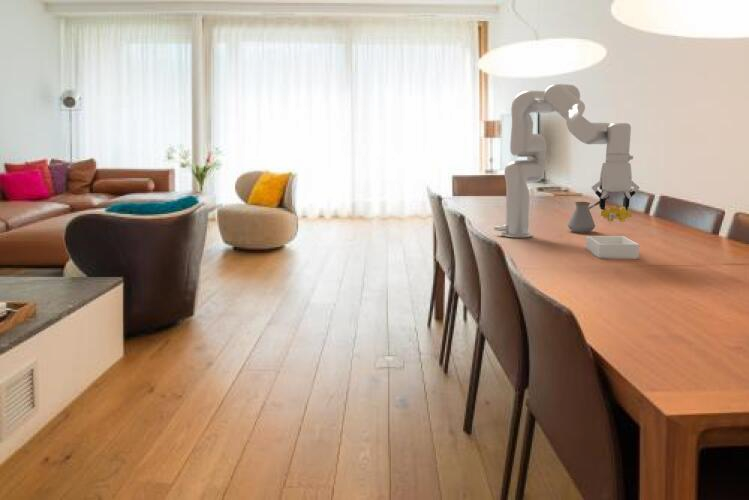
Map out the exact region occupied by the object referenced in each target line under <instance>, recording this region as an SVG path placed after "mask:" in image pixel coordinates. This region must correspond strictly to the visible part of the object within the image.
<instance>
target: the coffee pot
mask: <svg viewBox="0 0 749 500" xmlns="http://www.w3.org/2000/svg"><path fill="white" fill-rule="evenodd" d="M609 198H610V199H609ZM605 199H606V201H607V200H609V201H612V197H611V196H610V195H608V196H605ZM599 202H600V200H598V201H597V202H595V203H594V204H592V205H591V202H587V201H576V202H574V204H575V206H576V207H575V208H574V211H573V213H572V215H571V216H570V219H569V221H568V223H567V226H568V229H569V230H571V232H572V233H575V234H576V233H578V234H587V233H588V234H589V233H591V231H594V229H595V228H596V224H595V221H594V219H593V216H592V213H591V209H592V208H594V207H596V206H598V205H599Z"/></svg>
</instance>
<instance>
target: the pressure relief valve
mask: <svg viewBox="0 0 749 500" xmlns="http://www.w3.org/2000/svg"><path fill="white" fill-rule="evenodd" d="M632 214H633V213H632V212H631V211H628V210H626V207H623V206H621V207H619V209H618V207H617V206H616V205H612V206H611V208H606V207H605V210H601V211H600V216H601V217H603V219H605V220H607V222H608V224H609V225H610V226H611V222H614V220H615V219H616V220H619V223H624V222H625V221H626V219H628V218H632Z"/></svg>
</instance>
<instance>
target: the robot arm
mask: <svg viewBox="0 0 749 500" xmlns="http://www.w3.org/2000/svg"><path fill="white" fill-rule="evenodd" d="M585 109H586V105H585V103H584V102H583V101H582V100H581V93H580V90H579V88H578V87H577V86H575V85H574V84H569V83H568V84H566V83H554V84H551V85H549V86H548V87H547V88H546V89H545V90H524V91H522V92H521V91H520V93H518V94H516V96H515V97H514V99H513V101H512V103H511V110H510V111H511V132H510V142H509V143H510V144H509V145H510V146H509V147H510V149H509V150H510V153H511V155H512V156H514V157H517V158H526V159H518V160H513V161H510V162H509V163H508V164H506V166H505V168H504V180H505V187H506V196H505V197H506V198H505V199H506V201H505V223H504V224H503V225H500V226H499V225H494V226H493V231H494V232H495V231H496V232H497V231H498V232H501V236H503V237H507V238H514V239H515V238H519V239H520V238H523V239H524V238H531V237H532V235H533V234H532V232H531V231H529V219H530V218H529V216H530V198H531V197H530V195H531V194H530V190H529V187H528V185H527V184H529V183H530V184H532V183H537V182H540V181H541V180H542V179H543V177H544V176H545V170H546V159H547V147H548V146H547V141H546V139H545V137H544V136H543V135H541V134H539V133H533V132H534V131H533V129H534V122H533V121H534V120H533V118H532V115H531V113H532V114H533V113H534V114H535V113H536V114H537V113H538V114H539V113H540V114H541V113H543V114H547V113H548V114H549V113H550V114H551V113H554V112H557V114H559V115H560V116H561V117H562V118H563V119H564V120H565V121H566V126H567V129H568V132H570V134H571V135H573V137H574V138H575V139H577V140H579V141H580V142H581V143H583V144H585V145H606V151H605V153H606V154H605V162H603V163H602V166H601V169H600V175H599V180H598V181H597V182H596V183H595V184H594V185H592V186H591V190H592V191H593V192H594V194H595V195H596V196H597V197H598V198H599V201H600V202H599V204H598V205H599V208H600V210H601V211H604V210H605V209H606V201H607V200H606V199H605V198H606V196H607V194H608V192H611V193H613V192H617V193H618V192H622V193H623V195H624V197H623V200H622V201H623V202H622V207H626V211H628V210H629V209H628V208H630V199H631V198H632V197H633V196H634V195H635V194H637V192H638V191H639V190H640V186H639V185H637V184H636V182H634V181H633V180H632V179H633V178H632V177H633V175H632V166H631V162H630V161H631V160H632V161H633V160H634V156H633V155H631V154H630V149H631V148H630V146H631V136H632V135H631V130H632V127H631V124H630V123H628V122H627V123H626V122H617V123H616V122H614V123H611V122H590V121H589V120H588V119H587V118H585V117H584V116H583V114H584V112H585ZM598 189H599V190H600V191H599V190H598ZM631 189H632V190H631Z"/></svg>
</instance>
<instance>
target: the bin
mask: <svg viewBox="0 0 749 500" xmlns="http://www.w3.org/2000/svg"><path fill="white" fill-rule="evenodd" d="M585 250H586V251H588V252H589V253H590V254H592V255H593V256H595V257H596V258H598V259H607V260H609V259H616V260H617V259H619V260H621V259H622V260H623V259H625V260H626V259H627V260H628V259H629V260H630V259H633V260H639V258H640V257H639V254H640V243H637V242H636V241H633V240H632V239H630V238H628V237H627V236H624V235H586V236H585Z"/></svg>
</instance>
